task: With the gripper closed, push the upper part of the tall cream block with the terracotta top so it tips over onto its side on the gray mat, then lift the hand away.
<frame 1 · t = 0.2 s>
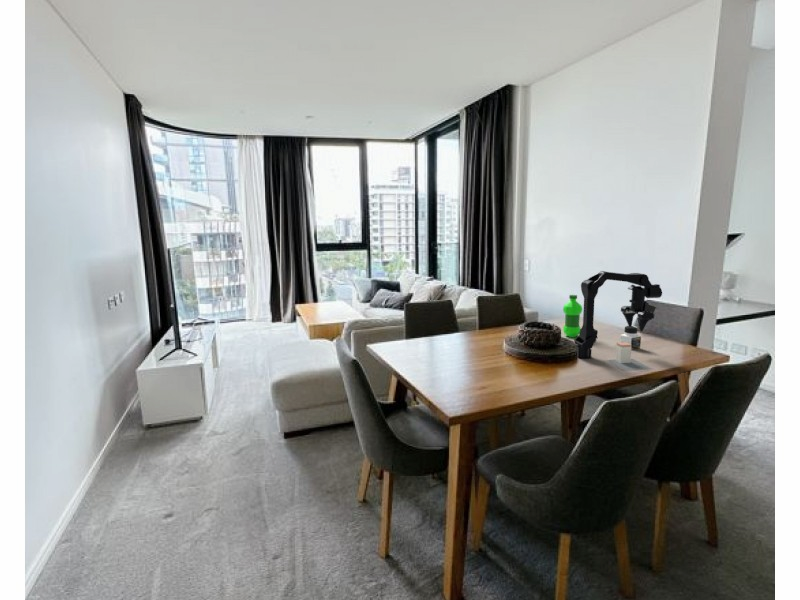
hand: (635, 328, 207), 14 cm above the table, tool pointing down, fingers open, 9 cm apart
medicine bottle: (629, 348, 222), on the table
plastic bottle: (571, 336, 249), on the table
cream block: (622, 361, 200), point 1 cm above the table, touching gray mat
gray mat: (627, 365, 196), on the table
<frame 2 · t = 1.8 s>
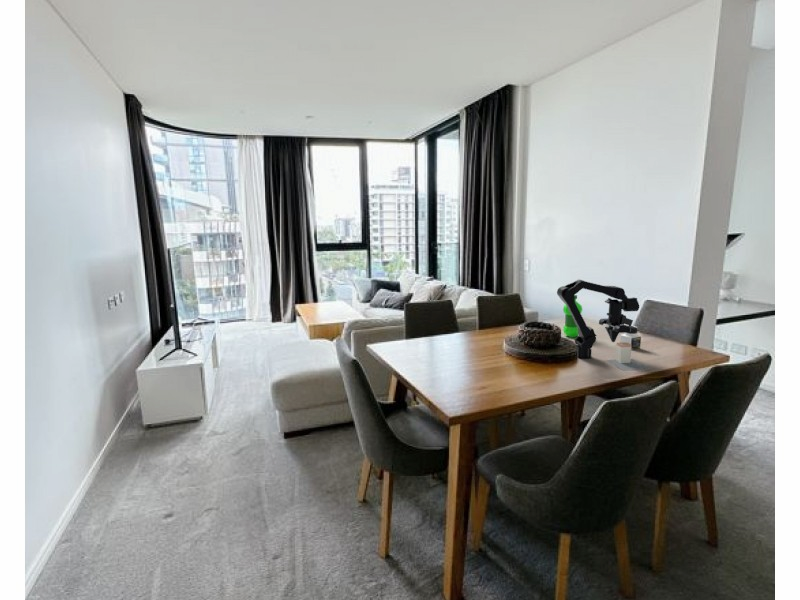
hand: (613, 341, 207), 8 cm above the table, tool pointing down, fingers closed
nothing on the table moved.
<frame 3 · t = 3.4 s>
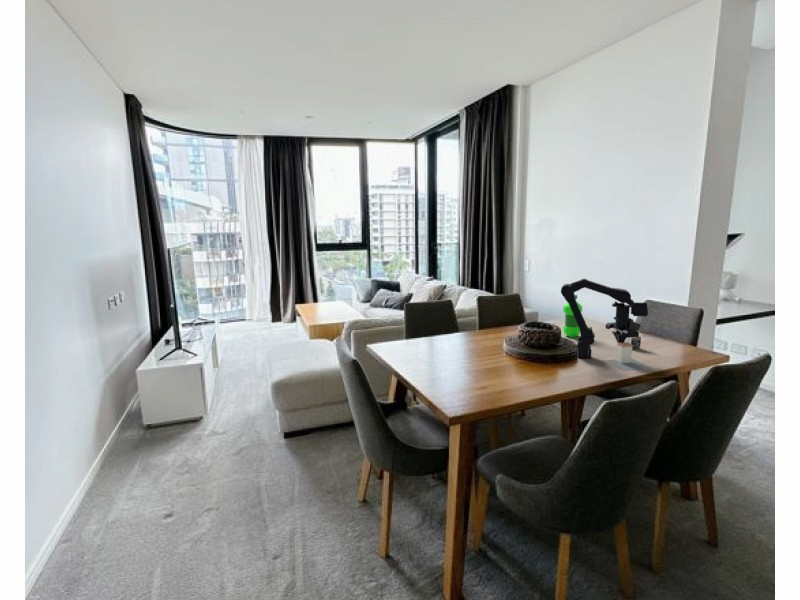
hand: (620, 346, 201), 7 cm above the table, tool pointing down, fingers closed
cream block: (622, 361, 200), point 1 cm above the table, touching gray mat, gripper
everything else where it was.
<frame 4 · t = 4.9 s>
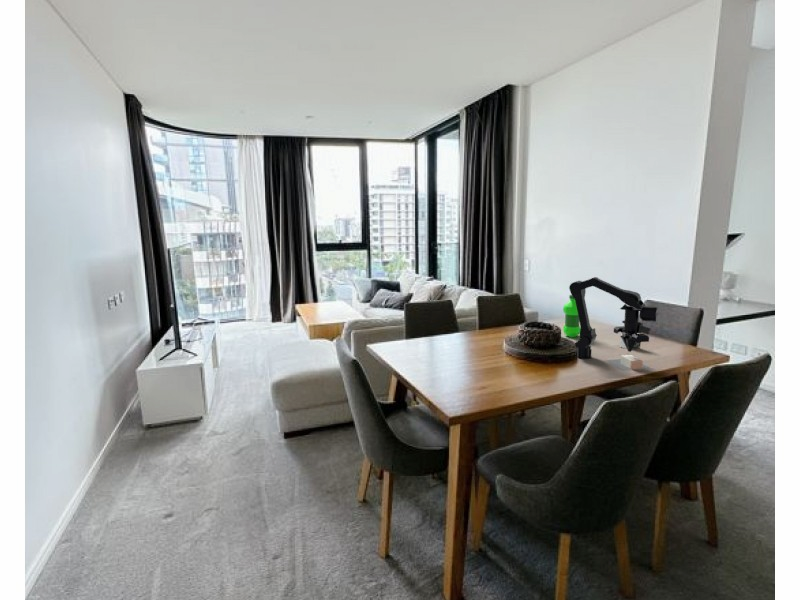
hand: (629, 351, 194), 7 cm above the table, tool pointing down, fingers closed
cream block: (625, 358, 197), point 3 cm above the table, tilted 90°, touching gray mat
everything else where it was.
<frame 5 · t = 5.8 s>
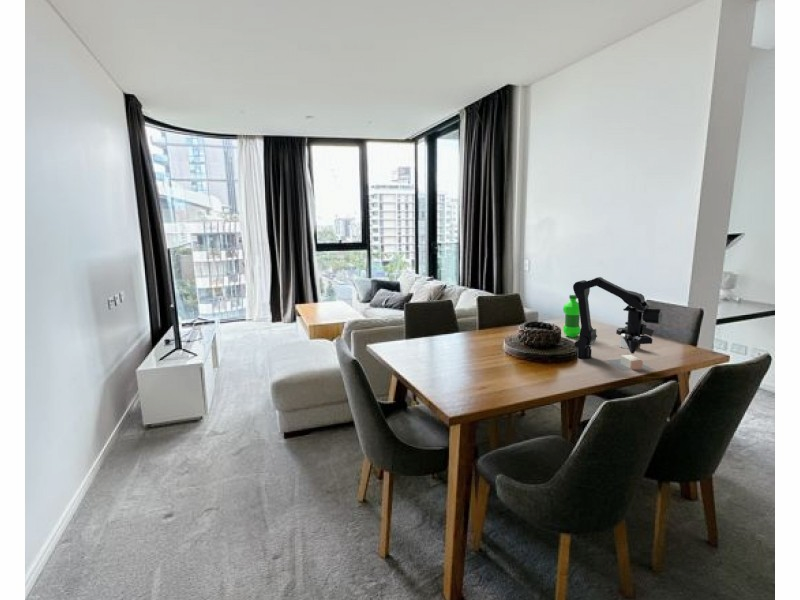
hand: (632, 353, 192), 7 cm above the table, tool pointing down, fingers closed
nothing on the table moved.
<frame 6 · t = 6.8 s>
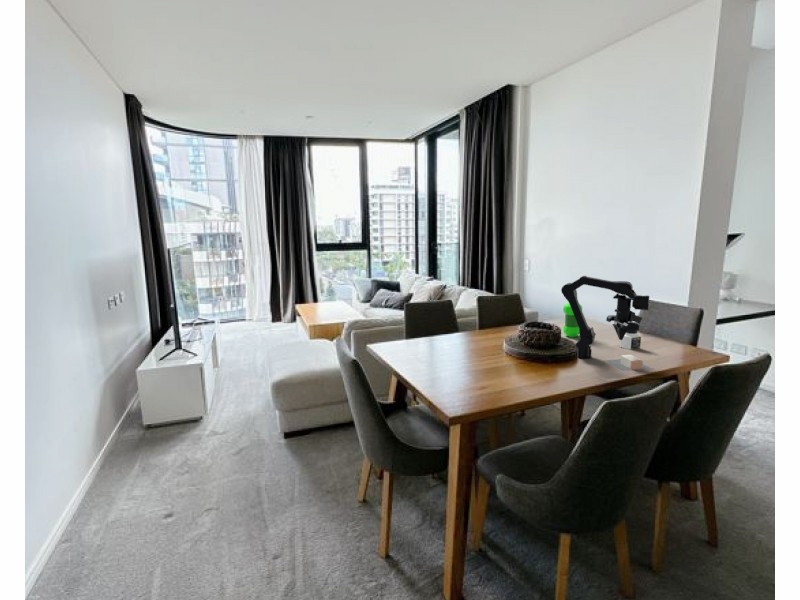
hand: (620, 339, 198), 12 cm above the table, tool pointing down, fingers closed
nothing on the table moved.
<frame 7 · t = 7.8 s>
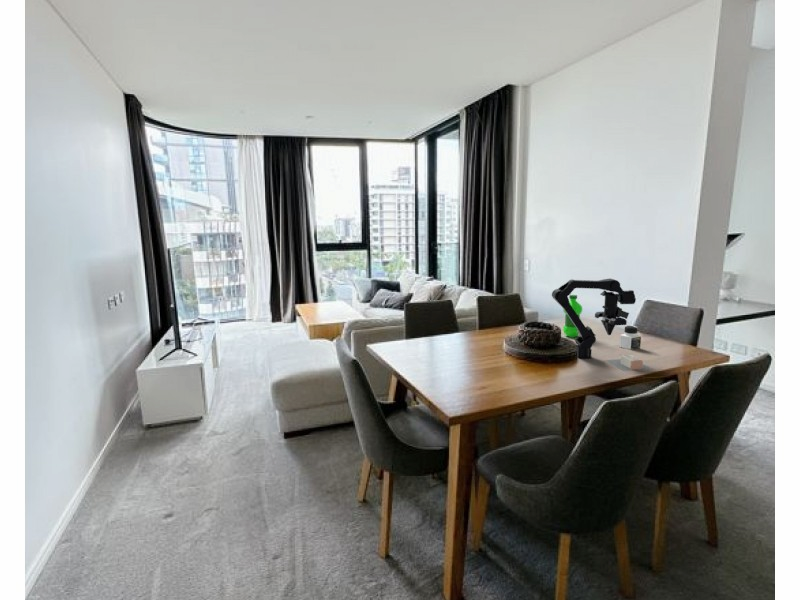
hand: (609, 334, 205), 12 cm above the table, tool pointing down, fingers closed
nothing on the table moved.
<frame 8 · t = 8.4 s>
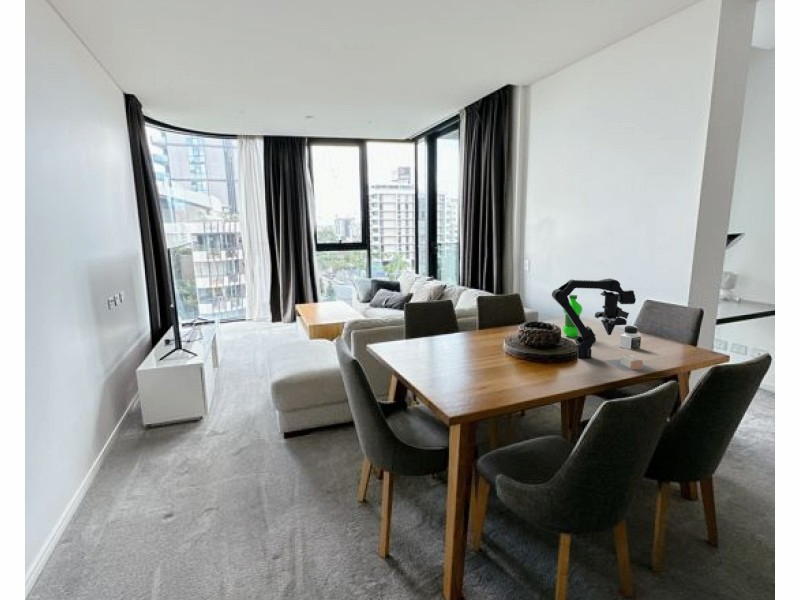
hand: (609, 334, 205), 12 cm above the table, tool pointing down, fingers closed
nothing on the table moved.
at the end: cream block tilted 90°; cream block inside the target area (0.0 cm from its centre), point 2.6 cm above the table; the gripper is holding nothing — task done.
